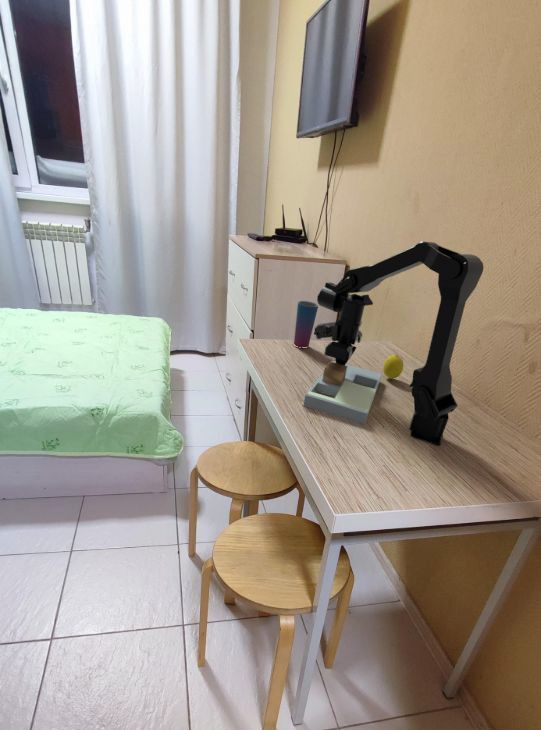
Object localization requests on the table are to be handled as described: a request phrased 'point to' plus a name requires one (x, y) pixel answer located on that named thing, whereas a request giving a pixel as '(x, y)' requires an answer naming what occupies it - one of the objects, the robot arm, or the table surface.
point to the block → (334, 373)
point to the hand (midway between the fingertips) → (338, 371)
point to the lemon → (393, 366)
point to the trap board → (346, 395)
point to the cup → (304, 322)
